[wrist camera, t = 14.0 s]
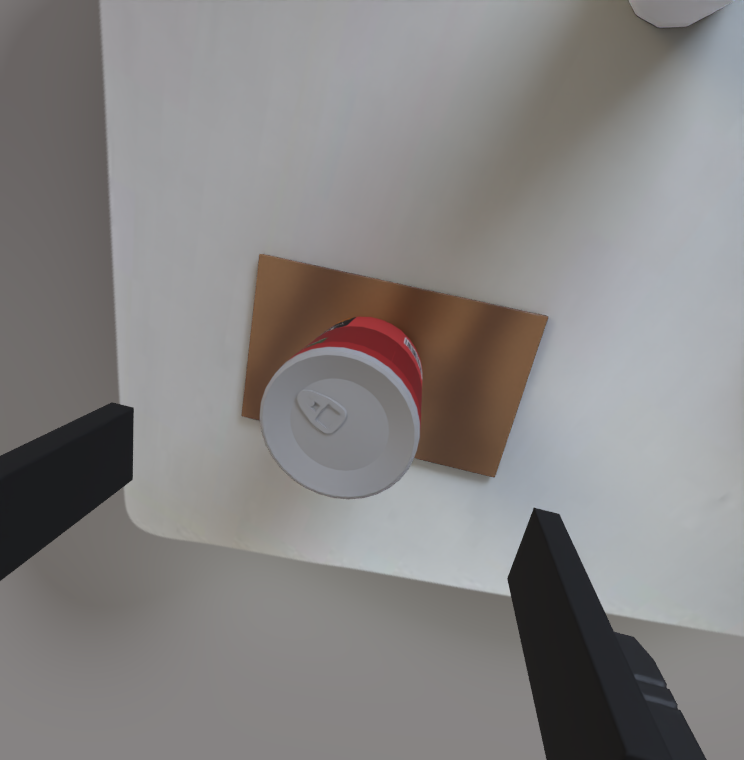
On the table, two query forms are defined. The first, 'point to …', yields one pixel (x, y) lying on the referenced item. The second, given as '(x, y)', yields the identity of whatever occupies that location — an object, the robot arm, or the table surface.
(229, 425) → the table surface
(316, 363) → the canned food
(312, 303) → the wooden placemat
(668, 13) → the foam cup
